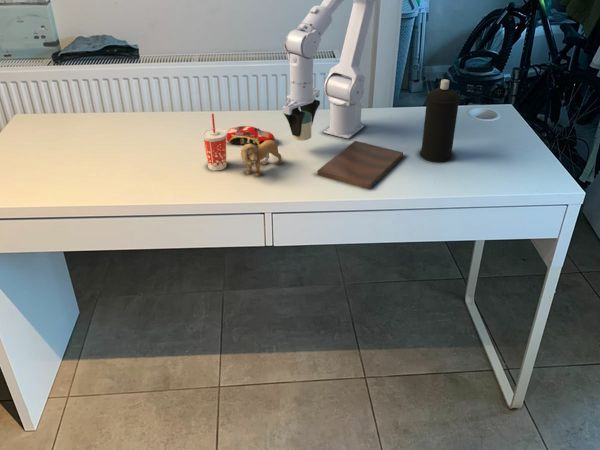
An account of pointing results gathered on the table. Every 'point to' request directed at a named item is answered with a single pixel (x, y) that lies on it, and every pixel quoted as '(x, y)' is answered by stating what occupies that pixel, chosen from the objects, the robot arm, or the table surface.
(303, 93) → the robot arm
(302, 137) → the cream jar
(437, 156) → the aerosol can
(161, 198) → the table surface
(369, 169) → the walnut board
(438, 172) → the table surface
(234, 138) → the race car
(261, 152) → the lion figurine
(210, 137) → the beverage cup
